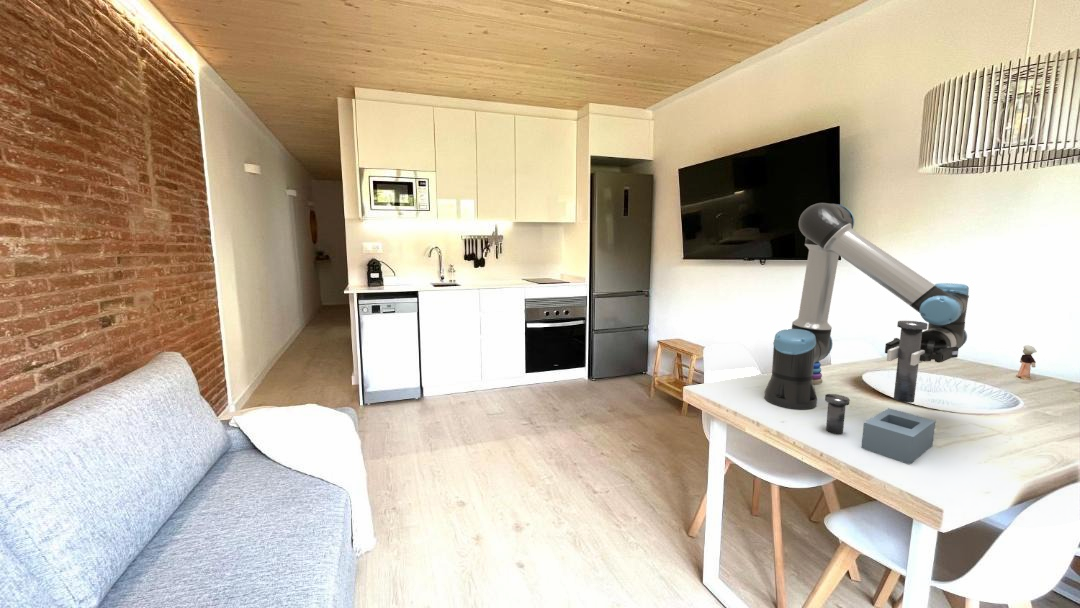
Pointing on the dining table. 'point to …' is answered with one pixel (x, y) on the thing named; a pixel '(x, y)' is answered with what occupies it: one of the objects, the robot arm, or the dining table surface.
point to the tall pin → (907, 360)
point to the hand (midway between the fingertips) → (900, 357)
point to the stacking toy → (817, 373)
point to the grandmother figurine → (1026, 362)
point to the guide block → (898, 435)
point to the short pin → (836, 413)
